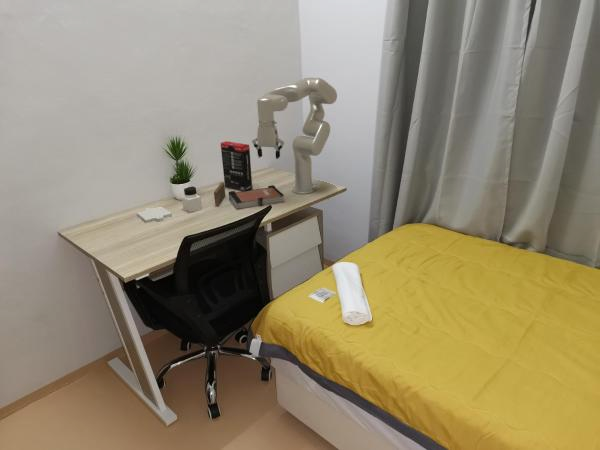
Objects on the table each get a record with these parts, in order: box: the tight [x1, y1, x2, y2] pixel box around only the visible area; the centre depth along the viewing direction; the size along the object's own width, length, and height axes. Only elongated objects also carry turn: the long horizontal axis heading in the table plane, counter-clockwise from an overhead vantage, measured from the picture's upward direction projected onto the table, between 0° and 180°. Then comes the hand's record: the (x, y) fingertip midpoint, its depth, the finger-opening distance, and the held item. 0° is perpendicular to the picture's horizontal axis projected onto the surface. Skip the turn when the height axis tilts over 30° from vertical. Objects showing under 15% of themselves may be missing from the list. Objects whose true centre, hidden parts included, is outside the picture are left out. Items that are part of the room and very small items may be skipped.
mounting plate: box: [136, 206, 172, 224], centre depth 202 cm, size 18×13×2 cm
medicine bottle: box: [181, 185, 203, 213], centre depth 207 cm, size 7×7×12 cm
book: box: [228, 184, 285, 211], centre depth 218 cm, size 26×18×5 cm
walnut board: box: [213, 181, 226, 208], centre depth 218 cm, size 2×17×8 cm, turn 177°
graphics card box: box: [220, 141, 253, 192], centre depth 233 cm, size 17×7×27 cm, turn 58°
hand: (269, 157), depth 203 cm, fingers open, 9 cm apart
